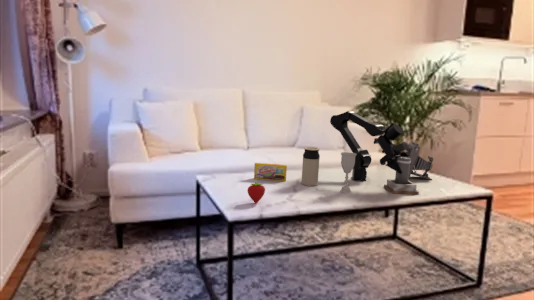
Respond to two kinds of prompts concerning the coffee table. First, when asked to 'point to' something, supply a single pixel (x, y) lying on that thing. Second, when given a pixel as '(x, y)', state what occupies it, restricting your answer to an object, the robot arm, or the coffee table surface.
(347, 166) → the chalice
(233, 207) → the coffee table surface
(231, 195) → the coffee table surface
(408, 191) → the mount
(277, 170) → the candy box
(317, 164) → the travel mug
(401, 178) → the lens
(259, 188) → the strawberry
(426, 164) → the camera
